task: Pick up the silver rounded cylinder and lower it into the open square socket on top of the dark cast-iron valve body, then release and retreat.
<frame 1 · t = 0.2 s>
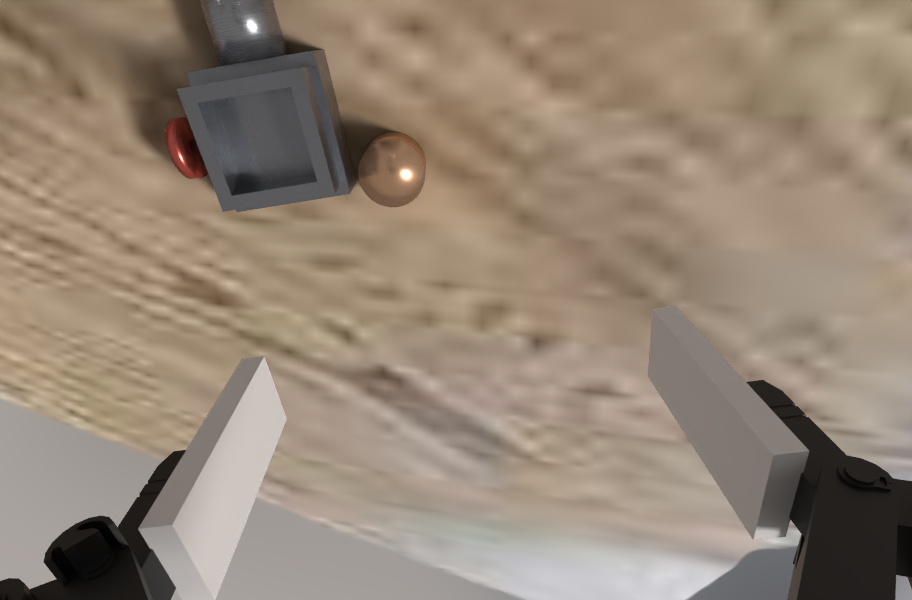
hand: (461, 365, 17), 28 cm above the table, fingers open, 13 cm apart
glossy bronze sphere: (395, 163, 41), on the table
valve body: (285, 129, 39), on the table
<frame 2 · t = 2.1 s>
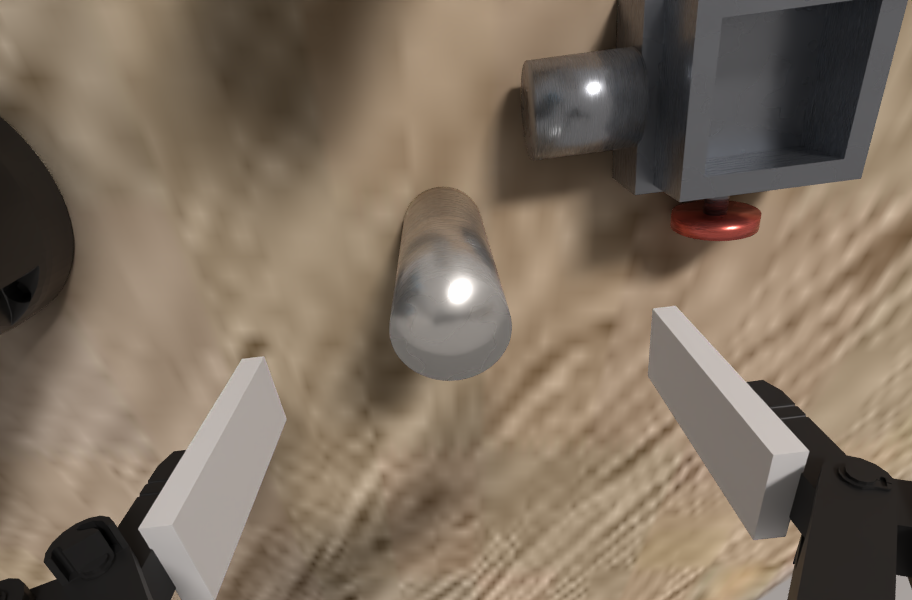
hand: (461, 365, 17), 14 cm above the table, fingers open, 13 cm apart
silver rounded cylinder: (442, 225, 29), on the table
valve body: (708, 81, 26), on the table
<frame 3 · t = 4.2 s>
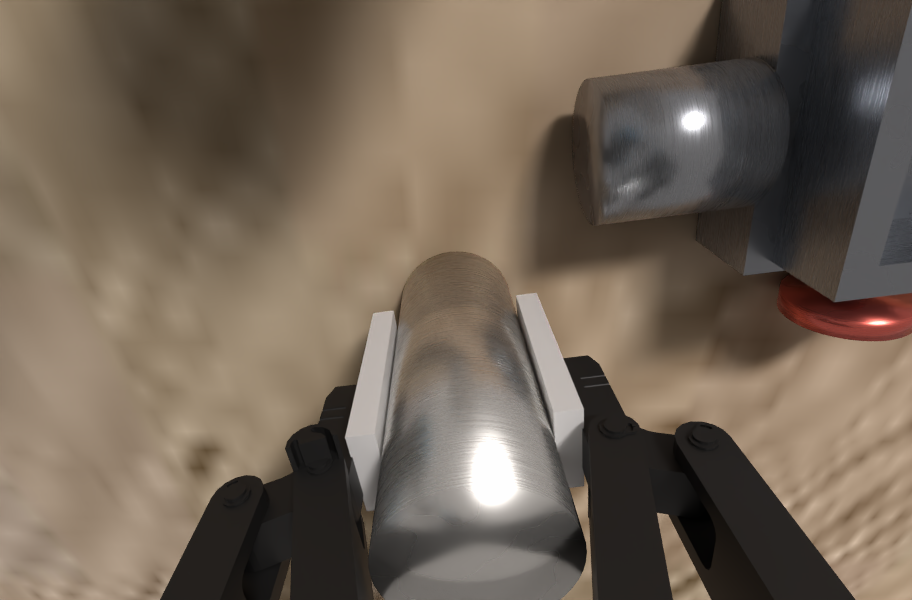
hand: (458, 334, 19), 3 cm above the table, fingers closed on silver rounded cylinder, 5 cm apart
silver rounded cylinder: (456, 302, 21), on the table, touching gripper
valve body: (846, 107, 18), on the table
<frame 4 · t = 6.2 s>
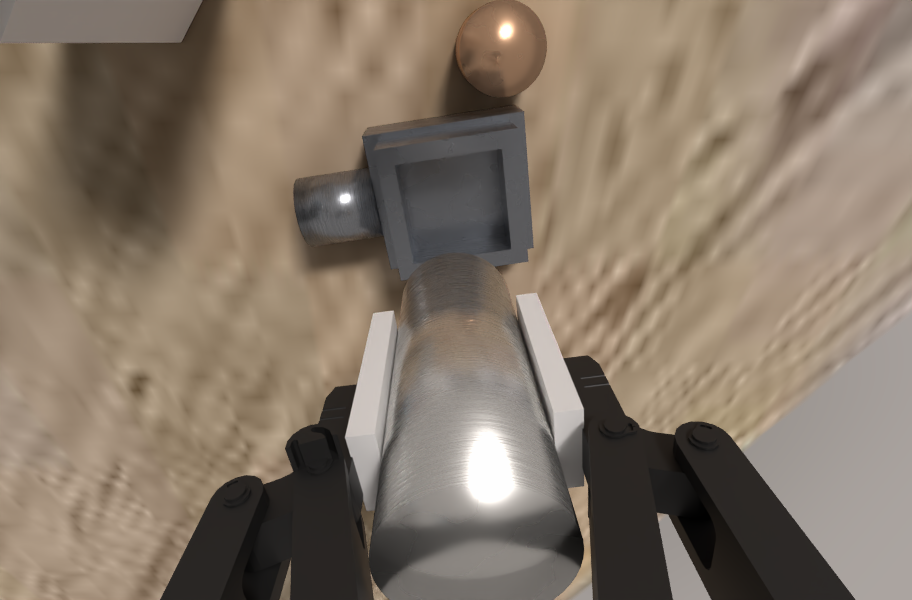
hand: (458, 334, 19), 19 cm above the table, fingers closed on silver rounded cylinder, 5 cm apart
silver rounded cylinder: (456, 302, 21), point 17 cm above the table, touching gripper
glossy bronze sphere: (494, 49, 32), on the table
valve body: (450, 182, 36), on the table
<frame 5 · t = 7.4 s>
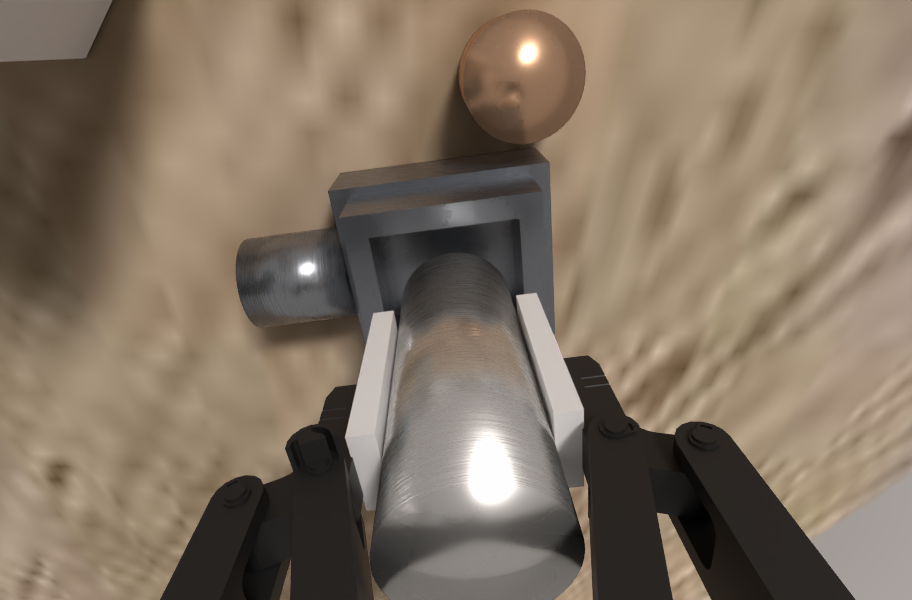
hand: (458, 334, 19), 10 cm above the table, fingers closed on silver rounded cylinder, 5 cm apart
silver rounded cylinder: (456, 302, 21), point 7 cm above the table, touching gripper
glossy bronze sphere: (510, 75, 24), on the table
valve body: (448, 242, 27), on the table
when the fingers open (8 cm above the table, at t = 8.4 s): silver rounded cylinder stays where it is, resting on valve body.
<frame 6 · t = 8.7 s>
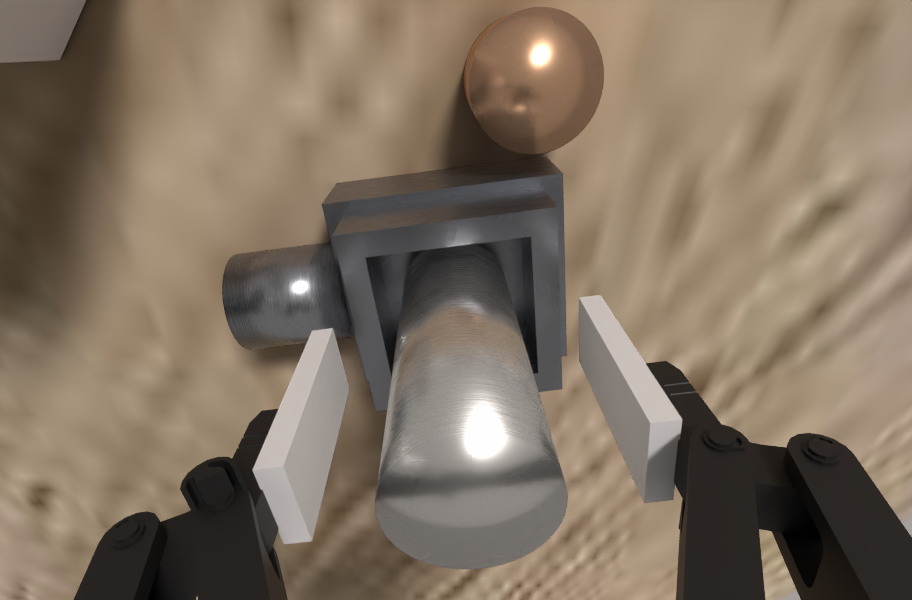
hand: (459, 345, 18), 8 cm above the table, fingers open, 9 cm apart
silver rounded cylinder: (455, 288, 23), point 4 cm above the table, touching valve body
glossy bronze sphere: (520, 78, 22), on the table
valve body: (452, 257, 26), on the table
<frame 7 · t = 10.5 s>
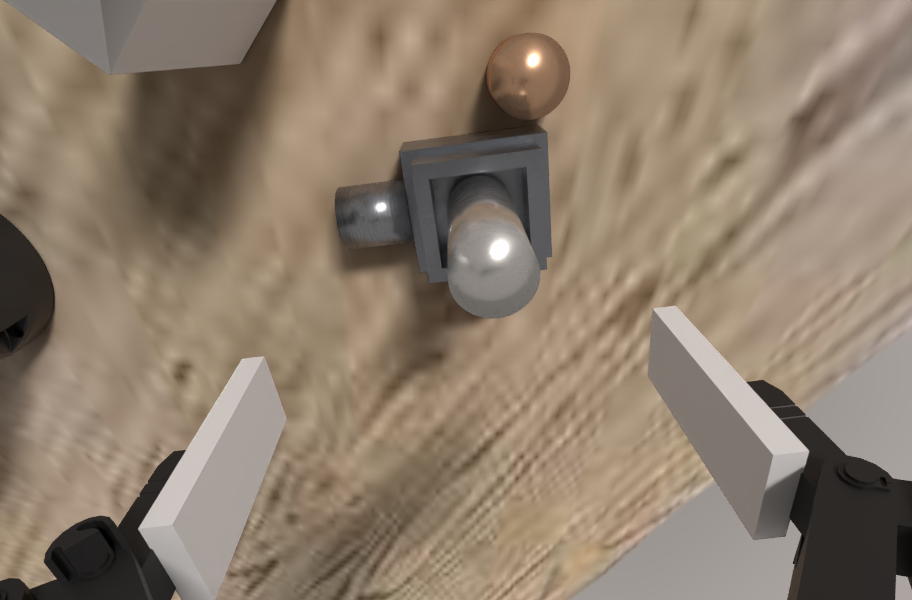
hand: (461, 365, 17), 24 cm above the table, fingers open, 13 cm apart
silver rounded cylinder: (479, 208, 35), point 4 cm above the table, touching valve body
glossy bronze sphere: (521, 74, 35), on the table
valve body: (476, 193, 39), on the table
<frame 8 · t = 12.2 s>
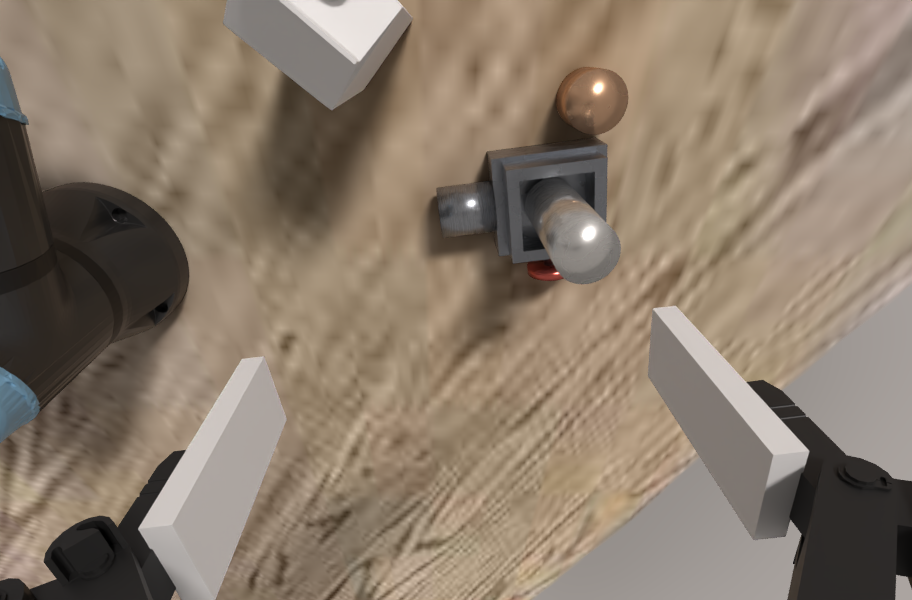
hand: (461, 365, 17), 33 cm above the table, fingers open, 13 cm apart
milk carton: (353, 24, 41), on the table
silver rounded cylinder: (550, 203, 45), point 4 cm above the table, touching valve body
glossy bronze sphere: (584, 98, 44), on the table
valve body: (543, 192, 48), on the table
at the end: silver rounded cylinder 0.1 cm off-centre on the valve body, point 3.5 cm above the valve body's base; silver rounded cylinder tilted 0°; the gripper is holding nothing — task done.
